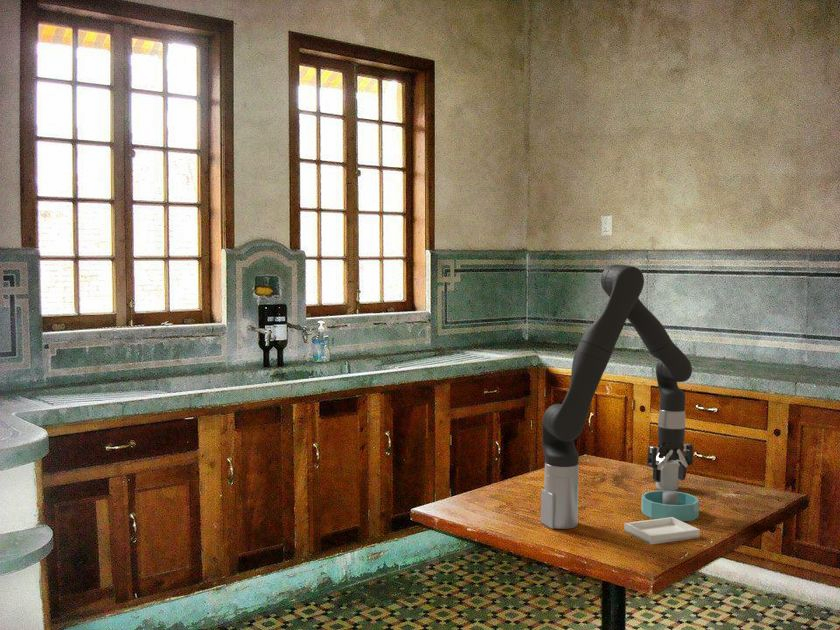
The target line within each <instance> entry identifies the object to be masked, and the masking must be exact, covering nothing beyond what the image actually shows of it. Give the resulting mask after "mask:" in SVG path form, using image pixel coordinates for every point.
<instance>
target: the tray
mask: <svg viewBox="0 0 840 630" xmlns="http://www.w3.org/2000/svg"><path fill="white" fill-rule="evenodd" d="M623 527H624V531H623V532H625V533H627V534H629V535H630V536H633V537H635V538H637V539H639V540H641V541H643V542H645V543H647V544H648V545H656V544H665V543H673V542H679V541H685V540H691V539H692V540H693V539H699V538H700V535H701V529H699V528H697V527H695V526H693V525H691V524H689V523H687V522H685V521H683V522H682V521H680V520H678V519H675V518H673V517H669V518H661V519H653V518H652V519H647V520H638V521H631V522H624V526H623Z"/></svg>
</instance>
